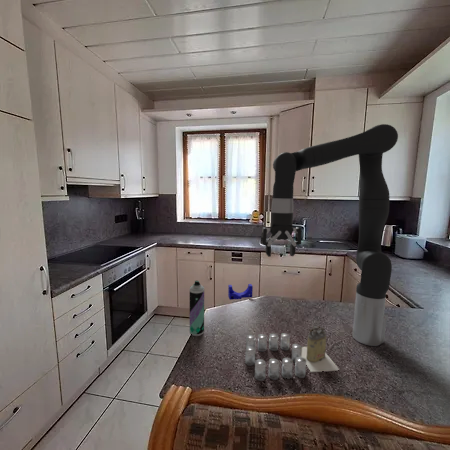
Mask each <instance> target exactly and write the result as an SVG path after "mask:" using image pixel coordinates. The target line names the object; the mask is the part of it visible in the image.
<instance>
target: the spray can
mask: <svg viewBox="0 0 450 450" xmlns="http://www.w3.org/2000/svg"><path fill="white" fill-rule="evenodd" d="M204 333H205V286H204V285H202V284H201V283H200V280H194V283H193V284H192V285H191V286H190V287H189V335H191V334H192V335H191V336H194V337H200V336H202V335H204Z"/></svg>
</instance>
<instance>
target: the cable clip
mask: <svg viewBox="0 0 450 450" xmlns="http://www.w3.org/2000/svg"><path fill="white" fill-rule="evenodd" d="M253 288H254V287H253V285H252V283H248V285H247V288H246V289H245V290H244V291H242V292H237V291H235V290H234V289H233V285H232V284H228V290H227V293H228V294H227V295H228V296H227V297H228V299H229V300H230V301H231V300H232V301H233V300H242V299H244V298H247V299H248V298H253V291H254V290H253Z"/></svg>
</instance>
